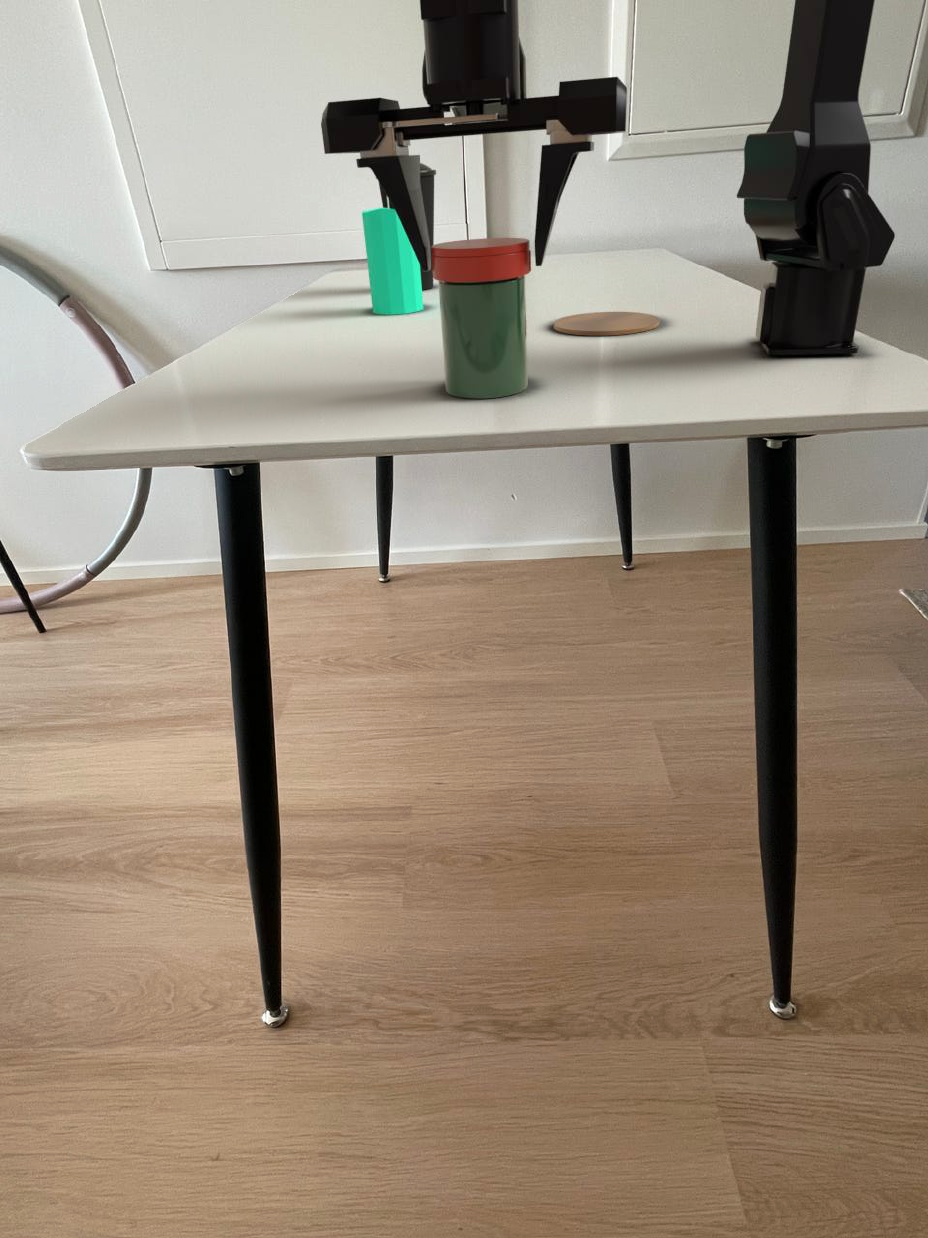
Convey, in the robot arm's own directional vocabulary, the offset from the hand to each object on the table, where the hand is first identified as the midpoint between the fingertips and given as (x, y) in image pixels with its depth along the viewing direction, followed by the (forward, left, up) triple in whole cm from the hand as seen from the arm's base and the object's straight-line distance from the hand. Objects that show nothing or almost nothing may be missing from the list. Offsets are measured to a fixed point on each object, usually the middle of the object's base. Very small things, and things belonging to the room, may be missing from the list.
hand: (482, 267), depth 54 cm
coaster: (-8, -23, -8) cm, 26 cm away
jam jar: (0, 0, -8) cm, 8 cm away
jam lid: (0, 0, +1) cm, 1 cm away
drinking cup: (+18, -53, -8) cm, 57 cm away
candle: (+16, -36, -8) cm, 40 cm away
